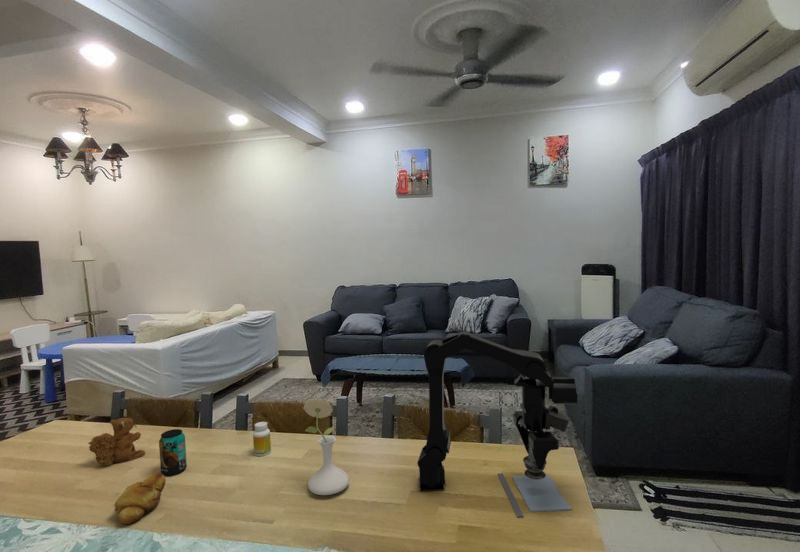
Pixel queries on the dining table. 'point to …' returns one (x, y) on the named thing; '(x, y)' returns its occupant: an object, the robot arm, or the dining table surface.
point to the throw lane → (535, 494)
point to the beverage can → (172, 452)
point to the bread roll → (139, 498)
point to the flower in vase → (325, 454)
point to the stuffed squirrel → (116, 444)
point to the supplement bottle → (261, 439)
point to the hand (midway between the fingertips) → (534, 461)
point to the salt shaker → (532, 467)
